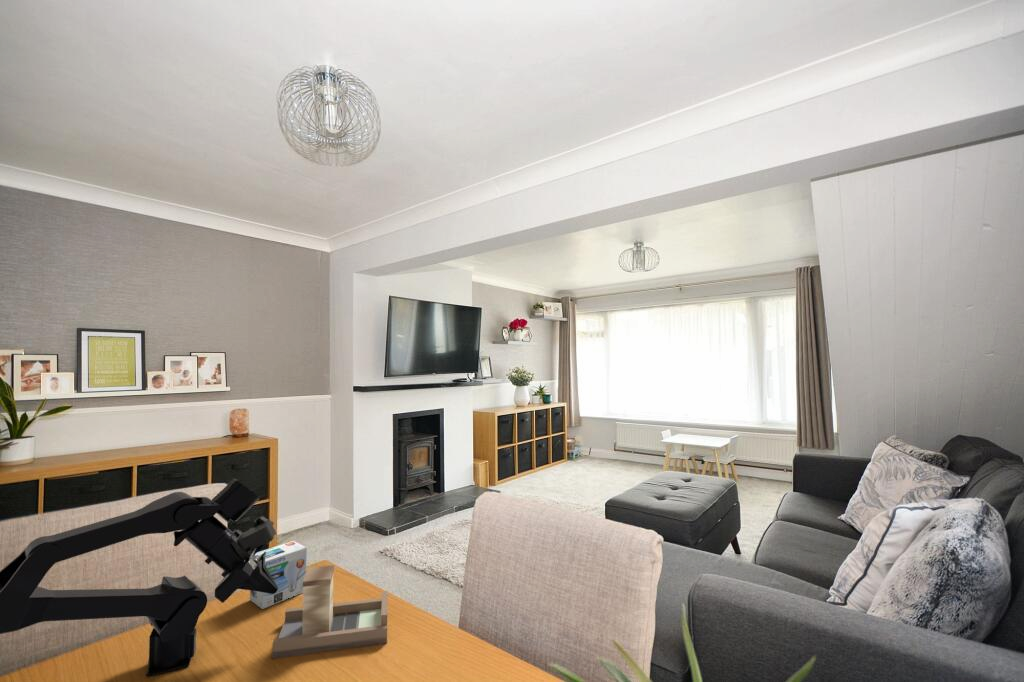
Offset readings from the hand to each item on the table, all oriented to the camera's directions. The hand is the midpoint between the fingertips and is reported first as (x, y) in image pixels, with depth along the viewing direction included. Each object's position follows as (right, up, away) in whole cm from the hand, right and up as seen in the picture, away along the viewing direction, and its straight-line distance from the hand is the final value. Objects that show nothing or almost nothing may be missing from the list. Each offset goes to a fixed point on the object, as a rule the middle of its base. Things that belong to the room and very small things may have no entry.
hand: (276, 591), depth 96 cm
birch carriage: (+8, -8, +1) cm, 11 cm away
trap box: (+11, -10, +2) cm, 15 cm away
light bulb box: (-8, -10, +16) cm, 21 cm away
